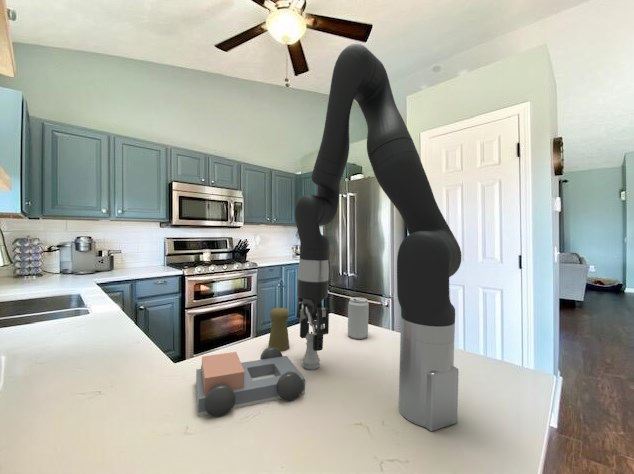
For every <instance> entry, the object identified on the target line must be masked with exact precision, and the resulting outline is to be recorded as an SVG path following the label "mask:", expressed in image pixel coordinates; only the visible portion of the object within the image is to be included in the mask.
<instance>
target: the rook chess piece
mask: <svg viewBox="0 0 634 474" xmlns="http://www.w3.org/2000/svg"><path fill="white" fill-rule="evenodd" d="M313 334H314V333H313V331H309V332H308V333H307V335H306V337H305V338H304V339H306V342H305V345H306V350H305V354H304V357H303V358H302V363H301V365H302V367H303V368H304V369H306V370H311V371H312V370H317V369H318V368H319V367H320V366H321V363H320V362H321V359H320V357H319V354H318V351H314V350H313Z"/></svg>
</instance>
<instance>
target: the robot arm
mask: <svg viewBox="0 0 634 474" xmlns="http://www.w3.org/2000/svg"><path fill="white" fill-rule="evenodd" d="M330 82H331V83H330V89H329V96H328V102H327V108H326V113H325V114H326V115H325V122H324V129H323V134H322V138H321V142H320V146H319V150H318V151H317V152H318V153H317V156H316V159H315V163H314V166H313V170H312V173H311V182H313V183H314V184H315V185H316V186H317V194H316V195H314V194H304V195H302V196H300V197H299V198H298V200H297V202H296V204H295V208H294V219H295V224H296V229H297V234H298V239H299V246H300V247H299V260H298V261H299V262H298V267H297V268H298V269H297V288H296V289H297V291H296V296H297V307H296V318H297V319H298V321H299V325H300V326H299V337H300V338H301V339H306V338H305V337H306V335H307V333H308V332H310V327H312V332H313V350H314V351H317V352H320V351H322V350H323V348H324V347H323V345H324V335H328V334H329V331H330V330H329V328H330V326H329V323H330V322H329V321H330V319H329V318H330V315H329V314H330V308H329V307H323V300H325V299H327V298H328V296H329V280H330V279H329V278H330V277H329V275H330V266H329V252H330V251H329V249H330V246H329V244H330V243H329V238H328V237H327V236H326V235H323V234H322V233H321V229H320V226H326V225H329V224H330V223H331V222H333V220H334V219H335V217H336V215H337V212H338V208H339V198H340V184H341V182H342V178H343V176H344V175H343V174H344V172H345V169H346V166H347V163H348V160H349V154H350V117H351V110H352V106H353V103H354V100H355V102H356V103H357V104H358V106H359V108H360V110H361V112H362V114H363V117H364V119H365V122H366V125H367V134H366V136H367V137H366V152H367V153H366V154H367V156H368V159H369V163H370V166H371V168H372V171H373V174H374V176H375V178H376V180H377V182H378V186H380V187H381V190H382V191H383V192H384V194H385V195H386V196H387V198H388V199H389V200H390V202H391V203H392V205H393V206H394V207H395V208H396V210H397V212H398V213H399V214H400V217H401V218H402V220H403V222H404V224H405V227H406V231H407V232H408V233H407V236H406V237H405V238H404V239H403V240H402V241H401V243H400V245H399V248H398V251H397V256H396V257H397V258H396V289H397V292H396V294H397V295H396V297H397V301H398V304H399V307H400V338H399V373H398V374H399V375H398V377H399V378H398V411H399V413H400V414H401V416H403V417H404V418H405V419H406V420H408V421H409V422H411V423H412V424H415V425H418V426H421V427H424V428H426V429H428V430H429V431H430V432H433V431H437V430H440V429H442V428H445V427H448V426H452V425H455V424H457V423H458V402H459V373H460V372H459V368H457V367H456V366H454V365H455V364H454V361H455V333H456V331H455V329H456V308H455V306H454V305H453V303H452V302H451V299H450V277H453V276H454V275H455V274H456V273H457V272H458V271H459V268H460V267H461V265H462V250H461V246H460V245H459V243H458V240H457V238H456V237H455V236H454V234H453V231H452V230H451V228H450V227H449V225H448V222H447V220H446V218H445V217H444V215H443V213H442V212H441V210H440V208H439V205H438V203H437V202H436V201H437V200H436V198H435V196H434V192H433V190H432V186H431V183H430V182H429V181H430V180H429V179H428V176H427V172H426V171H425V169H424V165H423V163H422V160H421V157H420V154H419V153H418V150H417V147H416V145H415V142H414V140H413V138H412V136H411V134H410V132H409V130H408V128H407V125H406V123H405V121H404V118H403V117H402V115H401V113H400V111H399V109H398V107H397V104H396V102H395V98H394V95H393V91H392V87H391V84H390V83H391V82H390V80H389V75H388V72H387V70H386V68H385V66H384V64H383V62H381V60H379V58H378V57H377V56H376V55H375V54H373V52H372V51H370V50H369V49H368V48H367V47H366V46H364V45H363V44H362V43H361V44H360V43H356V42H355V43H352V44H349V45H347V46H346V47H345V48H344V49H343V50H342V51H341V52H340V53H339V55H338V57H337V59H336V60H335V63H334V67H333V71H332V77H331V80H330Z"/></svg>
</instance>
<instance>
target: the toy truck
mask: <svg viewBox="0 0 634 474" xmlns="http://www.w3.org/2000/svg"><path fill="white" fill-rule="evenodd" d="M261 352H262V353H261V354H260V359H258V360H256V359H255V360H249V361H243V362H241V360H240V357H239V355H238V352H237V351H233V352H225V353H219V354H218V353H217V354H209V355H202V356H201V366H200V368H198V369H195V370H196V373H195V374H196V375H195V387H196V389H195V390H196V401H197V403H196V404H197V416H198V417H201V416H206V415H209V416H211V417H212V418H221V417H225V416H226V415H227V414H229V413H230V412H231V411H232V410H234V409H235V410H236V409H239V408H243V407H249V406H252V405H257V404H263V403H266V402H271V401H276V400H280V399H281V400H283V401H285V402H287V403H289V402H294V401H295V400H297V399H299V398H300V396H301V395H305V394H306V378H305V376H304V375H303V373H301V371H300V370H299V369H298V368H297V366H296V365H295V364H294V363H293V362H292V360H291V359H290V358H289V357H288V355H283V354H282V352H280V351H279V350H278V349H277V348H276V347H269V348H268V347H267V348H264V350H263V351H261Z"/></svg>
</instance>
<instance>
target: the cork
mask: <svg viewBox="0 0 634 474" xmlns="http://www.w3.org/2000/svg"><path fill="white" fill-rule="evenodd" d="M269 315H270V320H271V326H270V334H269V339H268V346H267V348H269V347H276V348H277V349H278V350H279V351H280V352H281V353H282V352H285V351H288V350H289V349H290V340H289V332H288V331H289V330H288V322H287V321H288V319H289V316H290V314H289V310H288V309H287V308H285V307H276V308H275V307H274V308H273V309H271V310H270V314H269Z"/></svg>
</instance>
